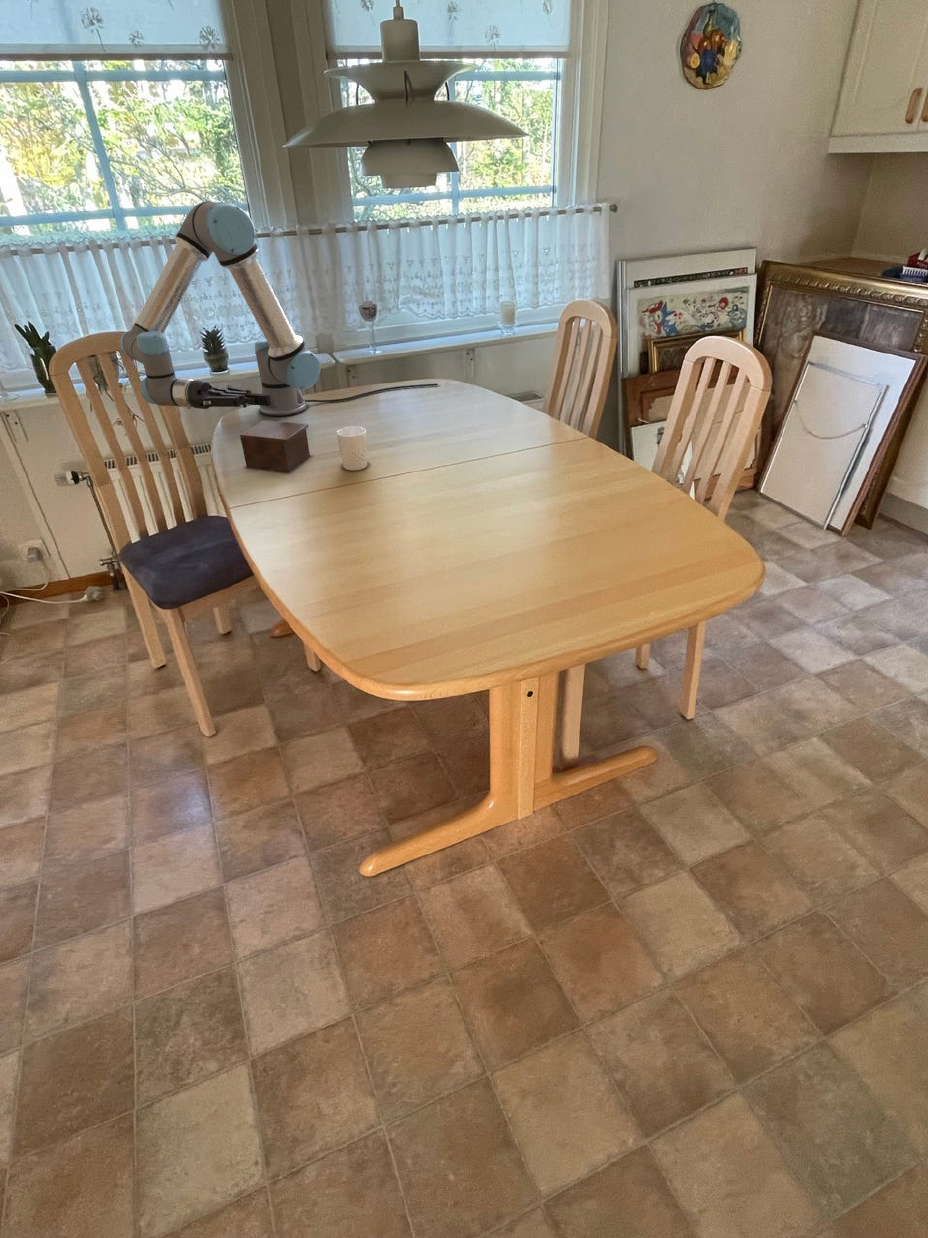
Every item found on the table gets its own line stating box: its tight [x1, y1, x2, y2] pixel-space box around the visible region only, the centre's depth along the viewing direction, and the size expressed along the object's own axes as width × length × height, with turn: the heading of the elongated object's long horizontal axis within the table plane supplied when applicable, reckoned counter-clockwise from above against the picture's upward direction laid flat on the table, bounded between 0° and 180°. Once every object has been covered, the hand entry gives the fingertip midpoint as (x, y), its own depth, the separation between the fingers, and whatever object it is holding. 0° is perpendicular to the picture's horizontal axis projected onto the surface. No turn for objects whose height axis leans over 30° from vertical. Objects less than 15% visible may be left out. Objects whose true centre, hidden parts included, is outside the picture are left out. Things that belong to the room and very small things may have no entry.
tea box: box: [240, 428, 311, 473], centre depth 196 cm, size 13×12×9 cm
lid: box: [239, 419, 309, 442], centre depth 193 cm, size 14×12×1 cm
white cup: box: [336, 425, 368, 471], centre depth 192 cm, size 8×8×10 cm
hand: (268, 400), depth 188 cm, fingers closed
